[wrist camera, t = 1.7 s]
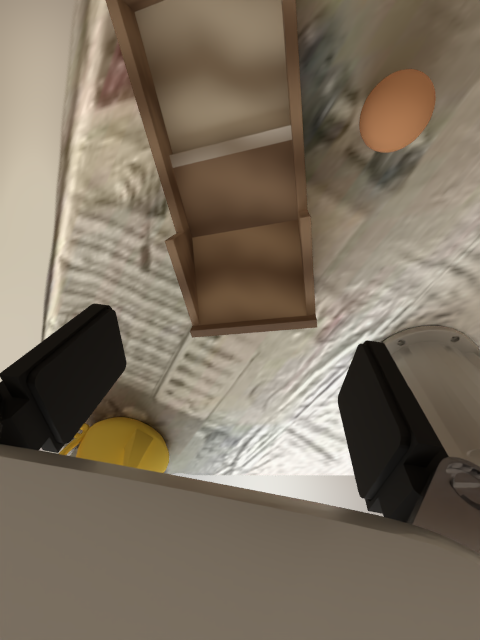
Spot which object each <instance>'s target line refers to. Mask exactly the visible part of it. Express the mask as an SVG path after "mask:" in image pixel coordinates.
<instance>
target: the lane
mask: <svg viewBox="0 0 480 640" xmlns="http://www.w3.org/2000/svg"><path fill="white" fill-rule="evenodd" d="M106 3H107V6H108V10H109V13H110V16H111V19H112V23H113V26H114V29H115V33H116V36H117V39H118V43H119V46H120V49H121V52H122V56H123V59H124V62H125V66H126V69H127V72H128V75H129V79H130V82H131V85H132V89H133V92H134V95H135V98H136V102H137V105H138V108H139V112H140V115H141V118H142V121H143V125H144V128H145V131H146V135H147V138H148V141H149V145H150V148H151V151H152V154H153V158H154V161H155V164H156V168H157V171H158V174H159V177H160V181H161V184H162V187H163V191H164V194H165V197H166V200H167V204H168V207H169V210H170V214H171V217H172V220H173V223H174V227H175V230H176V234H175V235H173V236H172V237H170V238H169V239H167V240H166V241H165V243H166V246H167V249H168V252H169V255H170V258H171V261H172V264H173V267H174V270H175V274H176V277H177V280H178V283H179V286H180V289H181V292H182V295H183V298H184V301H185V304H186V307H187V310H188V313H189V316H190V319H191V322H192V325H193V326H192V328H191V330H190V333H191V336H192V337H204V336H216V335H228V334H241V333H253V332H265V331H278V330H290V329H302V328H315V327H317V319H316V315H315V295H314V276H313V256H312V236H311V217H310V214H309V212H308V210H307V195H306V177H305V159H304V141H303V123H302V105H301V87H300V69H299V52H298V34H297V16H296V0H106Z"/></svg>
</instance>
